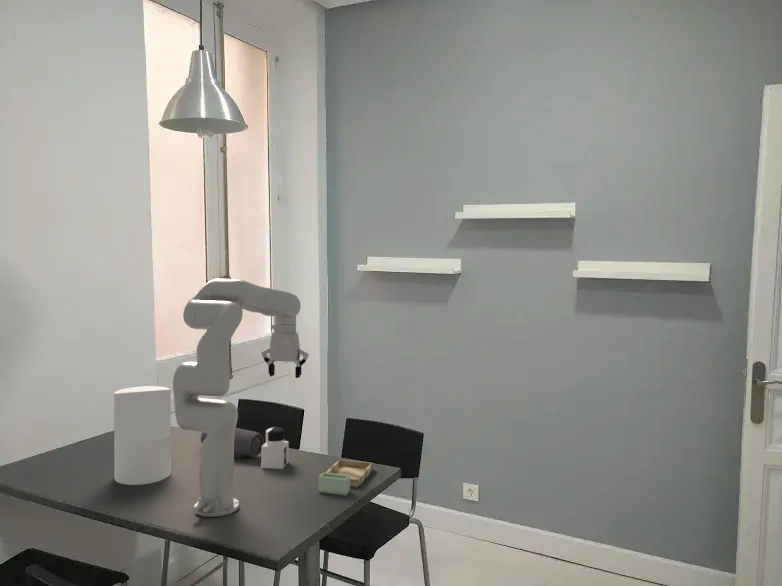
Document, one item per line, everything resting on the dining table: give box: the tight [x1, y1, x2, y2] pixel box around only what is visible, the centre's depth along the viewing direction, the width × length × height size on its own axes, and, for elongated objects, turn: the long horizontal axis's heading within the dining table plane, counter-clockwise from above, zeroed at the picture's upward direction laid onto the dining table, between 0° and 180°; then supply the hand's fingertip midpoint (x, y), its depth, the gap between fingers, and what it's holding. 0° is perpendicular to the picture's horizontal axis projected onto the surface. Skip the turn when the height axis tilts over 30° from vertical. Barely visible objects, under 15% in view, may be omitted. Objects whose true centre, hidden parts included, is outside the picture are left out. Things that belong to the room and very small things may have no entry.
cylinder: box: [113, 385, 172, 486], centre depth 200 cm, size 17×17×28 cm
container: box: [260, 426, 290, 470], centre depth 213 cm, size 8×8×13 cm
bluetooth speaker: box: [200, 427, 265, 458], centre depth 223 cm, size 23×9×10 cm, turn 65°
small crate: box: [317, 472, 351, 497], centre depth 190 cm, size 4×9×5 cm, turn 76°
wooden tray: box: [324, 458, 374, 489], centre depth 203 cm, size 17×12×2 cm
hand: (284, 376), depth 216 cm, fingers open, 9 cm apart
